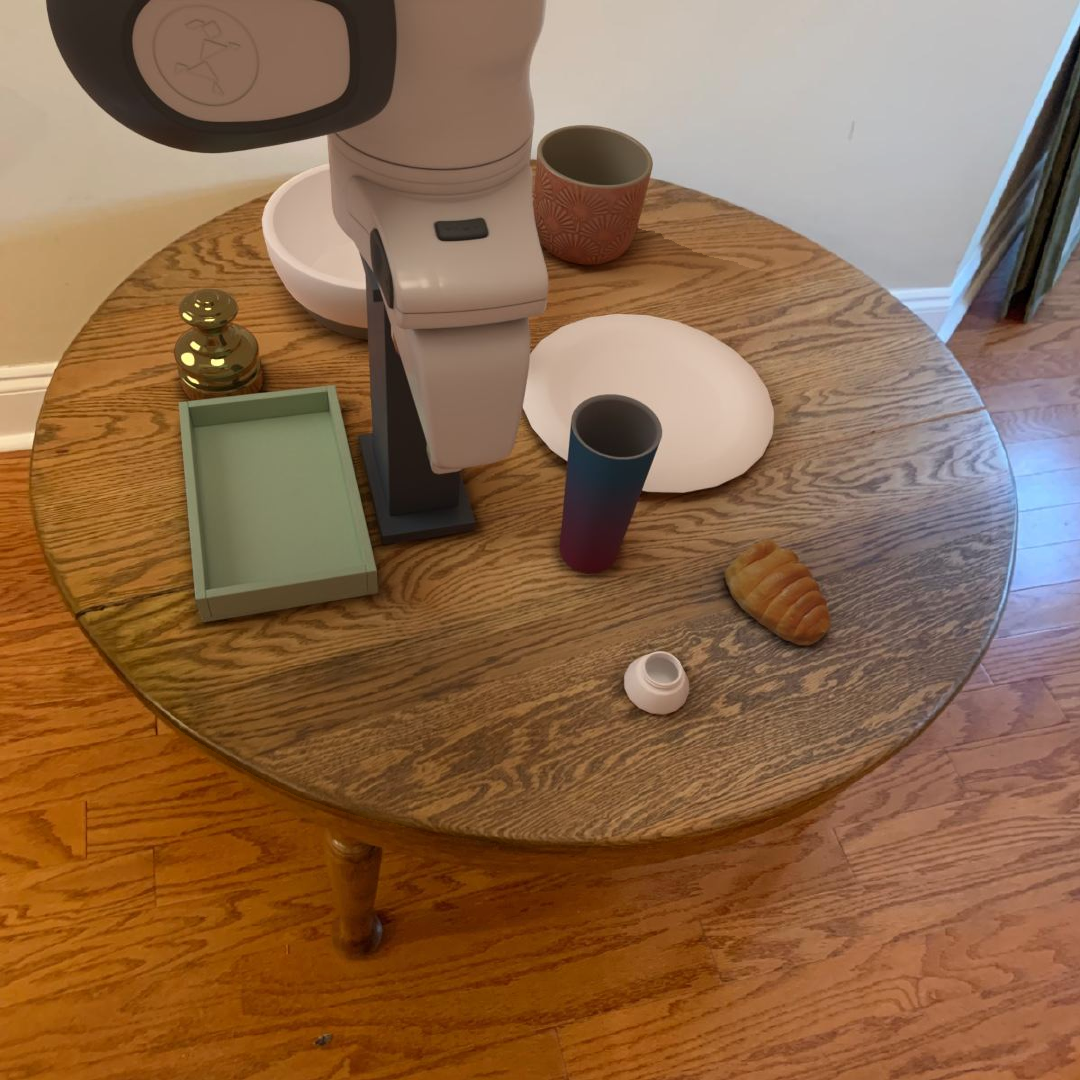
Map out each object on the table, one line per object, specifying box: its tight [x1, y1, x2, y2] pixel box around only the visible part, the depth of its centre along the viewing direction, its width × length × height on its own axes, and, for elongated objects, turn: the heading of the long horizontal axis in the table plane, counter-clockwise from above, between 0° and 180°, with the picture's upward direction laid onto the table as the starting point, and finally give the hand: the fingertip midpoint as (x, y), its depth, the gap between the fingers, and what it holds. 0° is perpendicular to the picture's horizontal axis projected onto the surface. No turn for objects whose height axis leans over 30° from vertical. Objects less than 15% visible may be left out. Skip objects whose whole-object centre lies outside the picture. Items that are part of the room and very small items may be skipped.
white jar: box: [623, 650, 690, 715], centre depth 74 cm, size 5×3×5 cm
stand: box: [357, 252, 476, 546], centre depth 76 cm, size 8×12×26 cm, turn 16°
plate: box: [522, 313, 775, 495], centre depth 95 cm, size 25×25×2 cm
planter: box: [533, 124, 654, 266], centre depth 107 cm, size 12×12×11 cm
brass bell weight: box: [173, 288, 264, 401], centre depth 88 cm, size 7×7×10 cm
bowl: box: [261, 163, 368, 341], centre depth 100 cm, size 22×22×8 cm
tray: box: [178, 384, 379, 623], centre depth 82 cm, size 14×22×3 cm, turn 16°
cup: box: [558, 394, 662, 575], centre depth 78 cm, size 7×7×15 cm
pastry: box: [724, 538, 832, 646], centre depth 80 cm, size 9×7×4 cm
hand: (426, 402), depth 54 cm, fingers open, 8 cm apart
